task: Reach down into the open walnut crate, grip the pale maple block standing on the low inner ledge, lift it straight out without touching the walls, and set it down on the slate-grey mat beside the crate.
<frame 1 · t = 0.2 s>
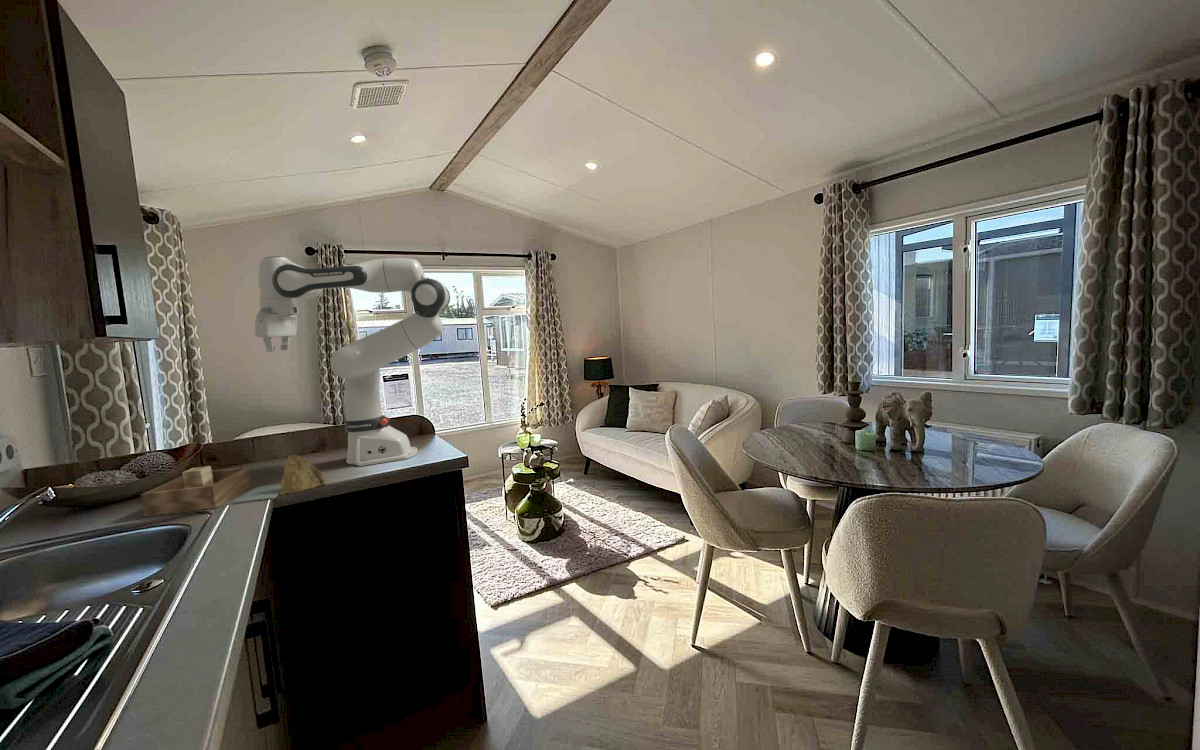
hand: (277, 350, 163), 39 cm above the counter, tool pointing down, fingers open, 8 cm apart
mat: (264, 493, 140), on the counter
crate: (202, 500, 138), on the counter
block: (200, 493, 138), point 2 cm above the counter, touching crate
rock: (305, 489, 142), on the counter
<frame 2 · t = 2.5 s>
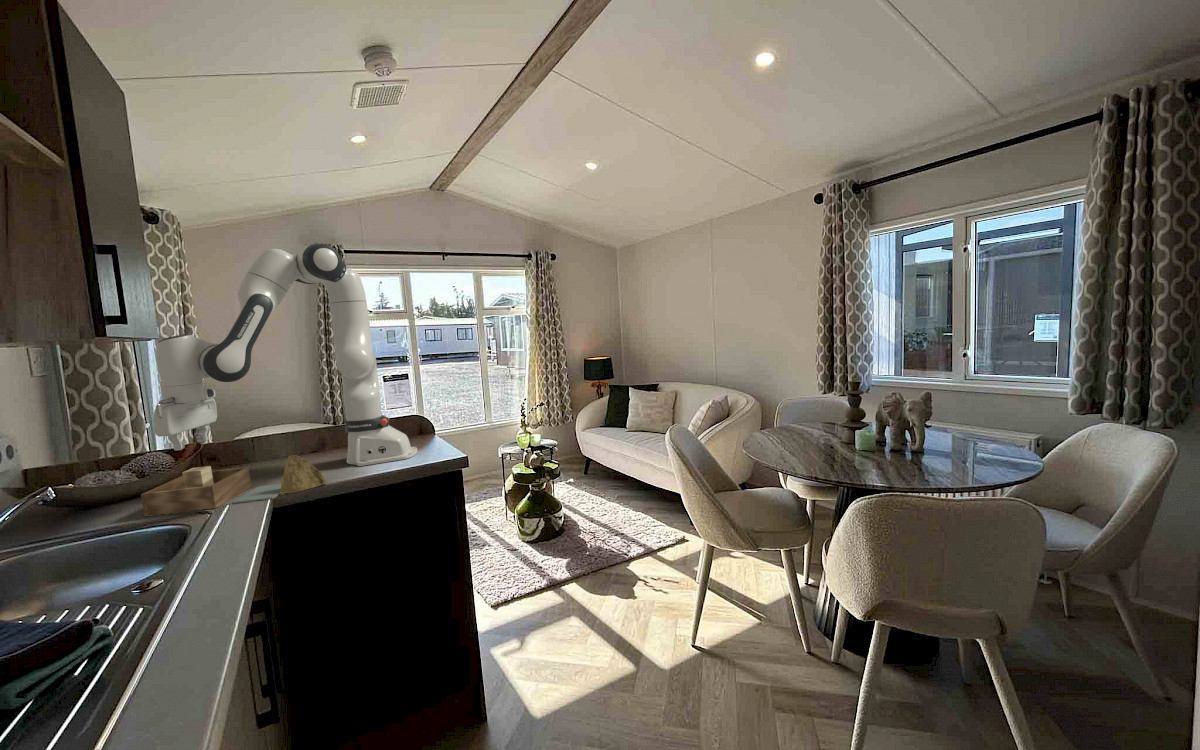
hand: (191, 445, 136), 16 cm above the counter, tool pointing down, fingers open, 8 cm apart
nothing on the counter moved.
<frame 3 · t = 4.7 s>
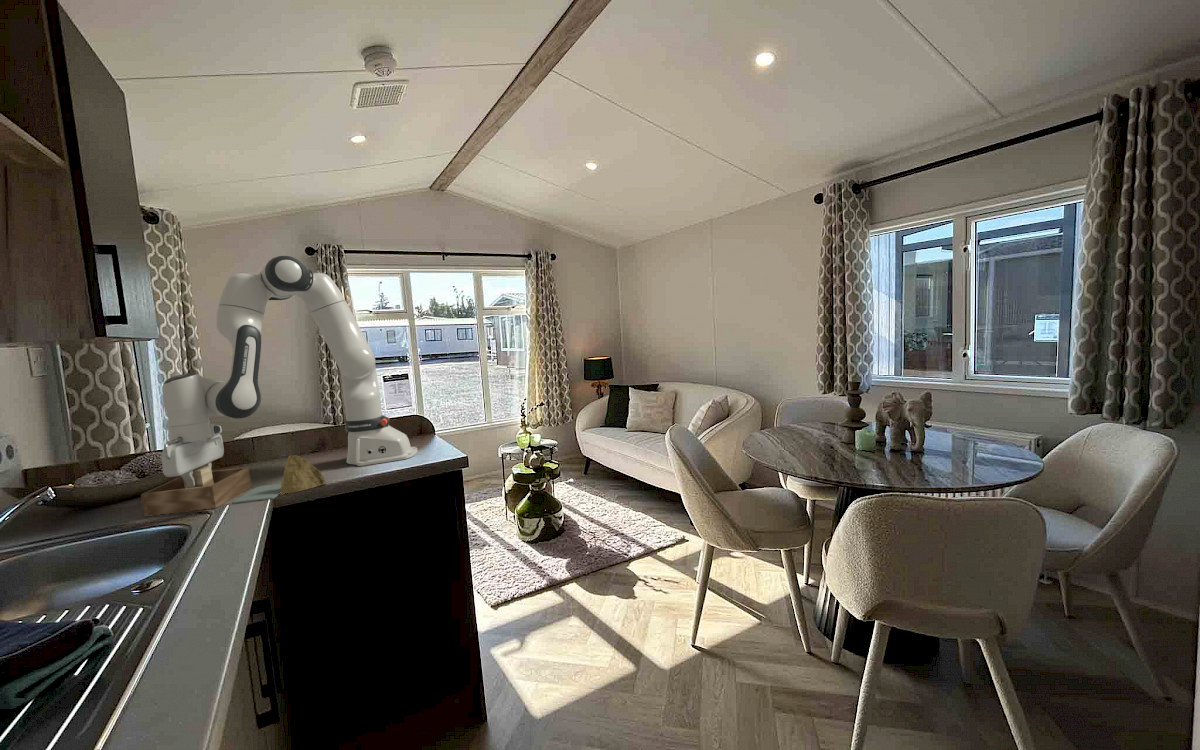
hand: (199, 482, 137), 5 cm above the counter, tool pointing down, fingers closed on block, 4 cm apart
block: (200, 493, 138), point 2 cm above the counter, touching crate, gripper
everything else where it was.
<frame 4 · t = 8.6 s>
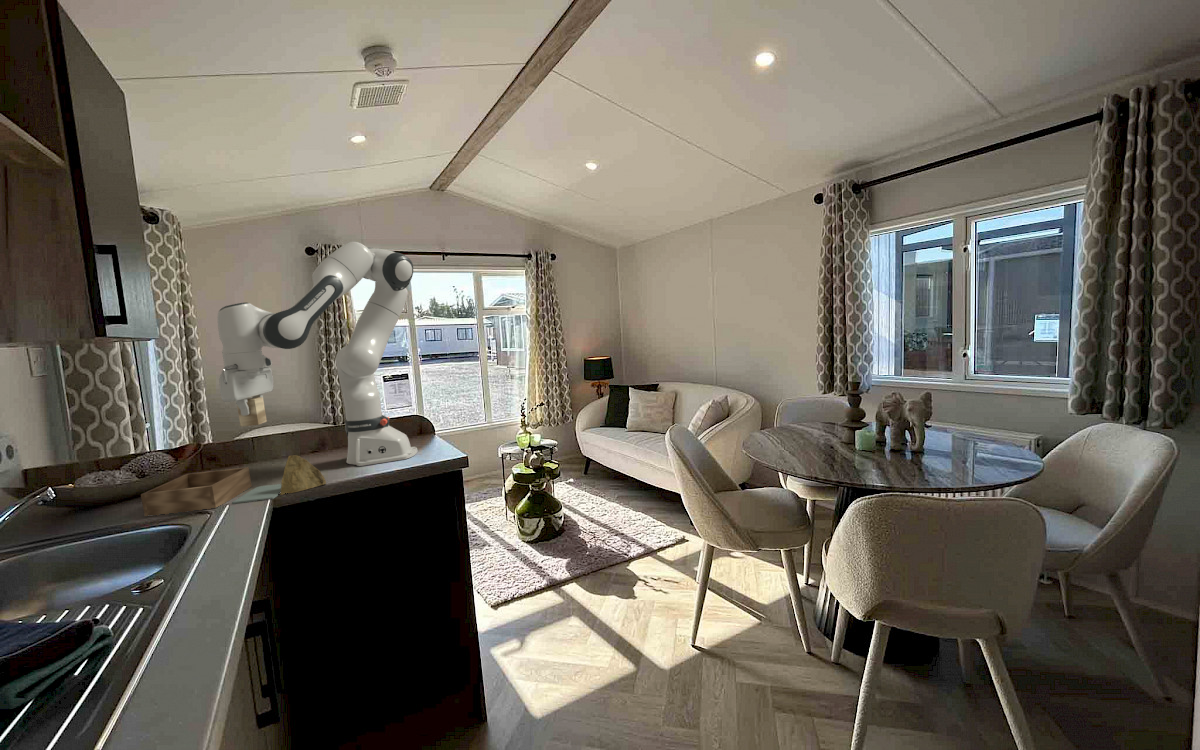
hand: (252, 413, 138), 23 cm above the counter, tool pointing down, fingers closed on block, 4 cm apart
block: (253, 424, 138), point 20 cm above the counter, touching gripper
everything else where it was.
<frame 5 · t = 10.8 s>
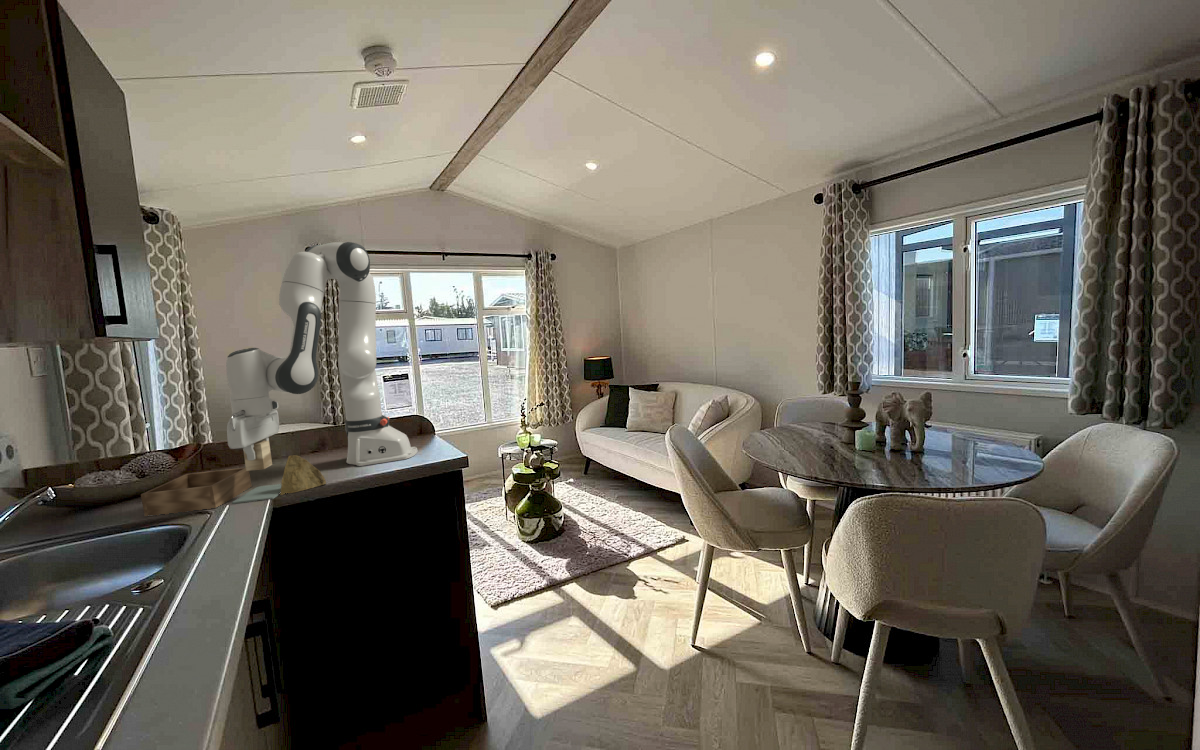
hand: (258, 456, 139), 11 cm above the counter, tool pointing down, fingers closed on block, 4 cm apart
block: (259, 467, 139), point 8 cm above the counter, touching gripper
everything else where it was.
when the fingers open (6 cm above the counter, at t = 12.7 s): block drops 2 cm, resting on mat.
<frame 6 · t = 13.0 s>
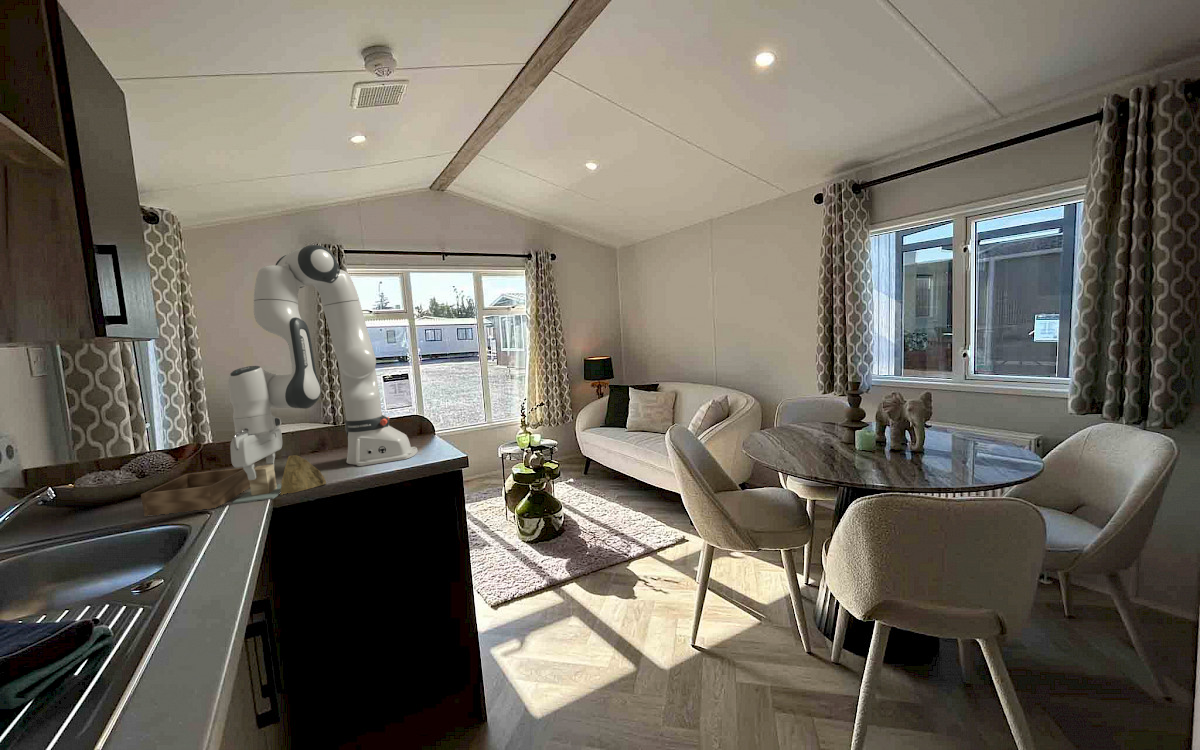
hand: (262, 474, 140), 6 cm above the counter, tool pointing down, fingers open, 8 cm apart
block: (264, 491, 140), resting on mat
everything else where it was.
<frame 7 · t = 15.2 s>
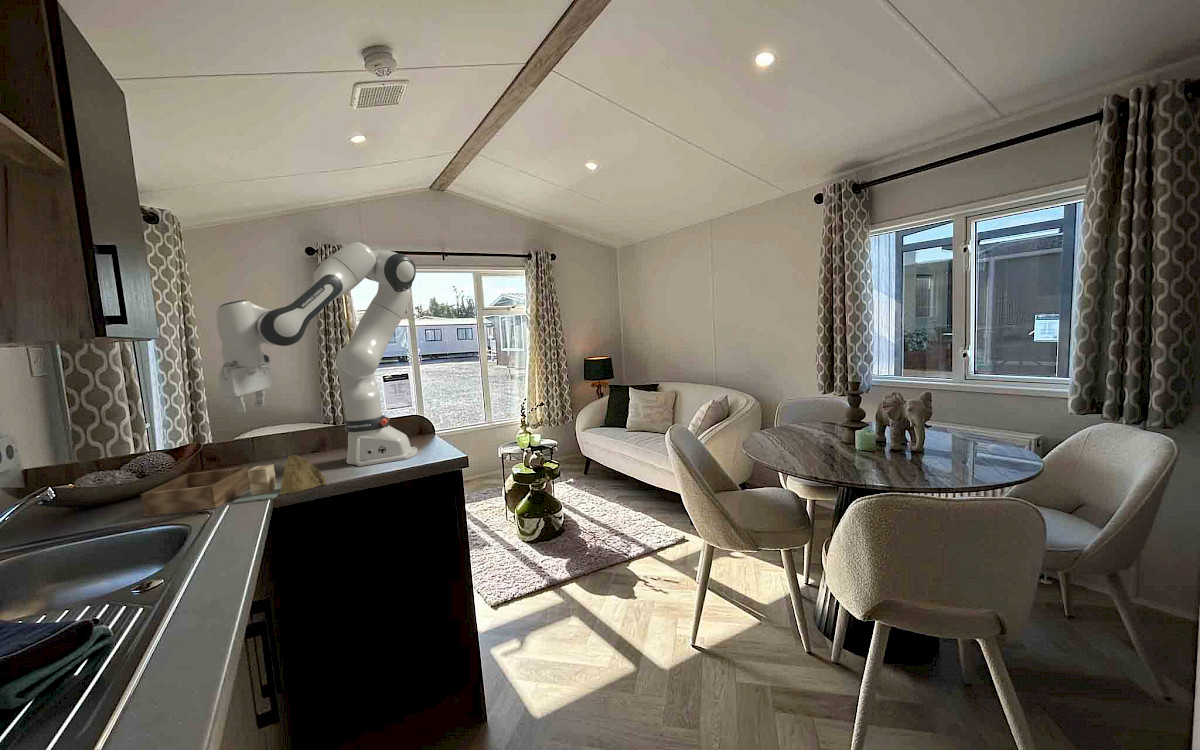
hand: (251, 409, 140), 24 cm above the counter, tool pointing down, fingers open, 8 cm apart
nothing on the counter moved.
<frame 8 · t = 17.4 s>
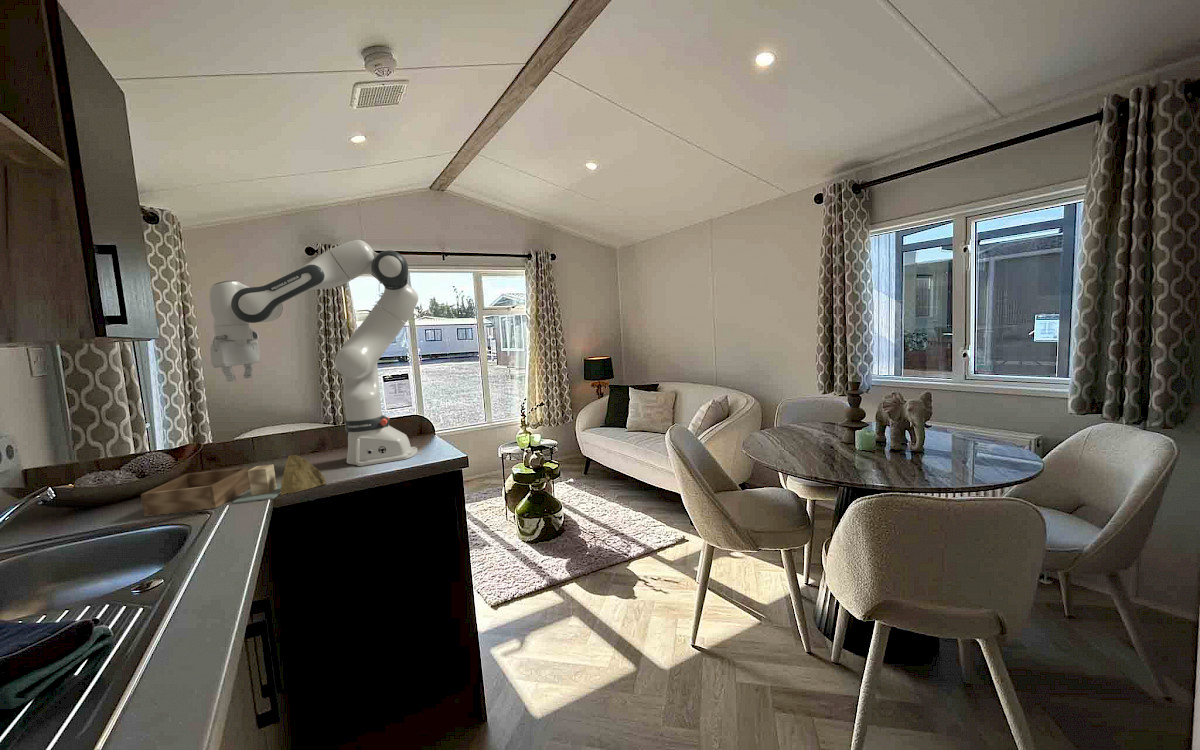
hand: (240, 379, 155), 31 cm above the counter, tool pointing down, fingers open, 8 cm apart
nothing on the counter moved.
at the end: block inside the target area on the mat (0.0 cm from its centre), point 0.5 cm above the mat's base; block tilted 0°; the gripper is holding nothing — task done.
